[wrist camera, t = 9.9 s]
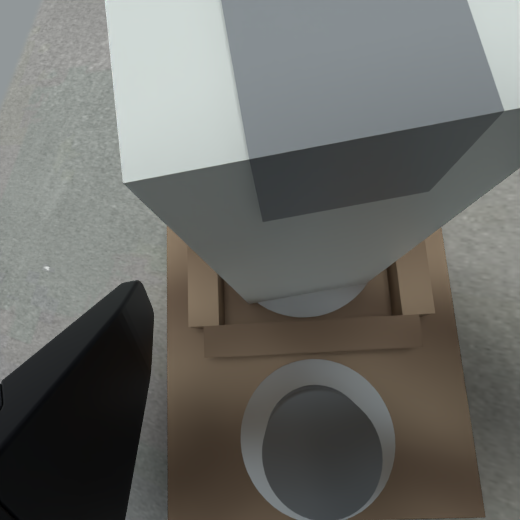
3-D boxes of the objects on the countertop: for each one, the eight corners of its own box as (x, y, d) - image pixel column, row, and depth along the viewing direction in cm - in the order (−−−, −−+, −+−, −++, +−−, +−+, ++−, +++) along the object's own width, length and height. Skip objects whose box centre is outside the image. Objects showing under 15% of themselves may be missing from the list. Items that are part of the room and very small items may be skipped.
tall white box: (367, 285, 16) (648, 84, 4) (249, 306, 17) (115, 184, 4) (340, 171, 18) (484, -297, 5) (231, 192, 18) (78, -204, 5)
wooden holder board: (473, 506, 16) (524, 552, 12) (174, 514, 16) (144, 560, 13) (418, 137, 19) (447, 92, 16) (172, 157, 20) (148, 118, 16)
